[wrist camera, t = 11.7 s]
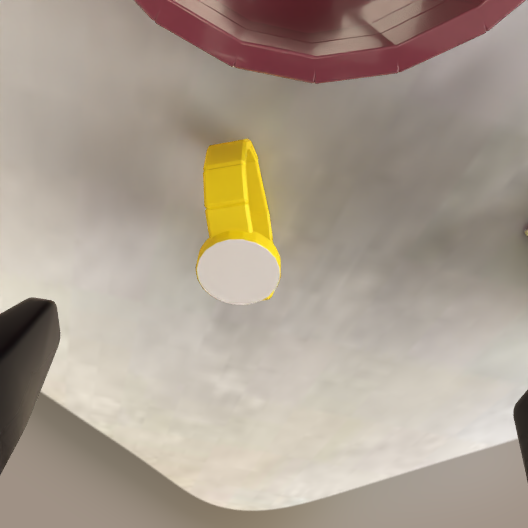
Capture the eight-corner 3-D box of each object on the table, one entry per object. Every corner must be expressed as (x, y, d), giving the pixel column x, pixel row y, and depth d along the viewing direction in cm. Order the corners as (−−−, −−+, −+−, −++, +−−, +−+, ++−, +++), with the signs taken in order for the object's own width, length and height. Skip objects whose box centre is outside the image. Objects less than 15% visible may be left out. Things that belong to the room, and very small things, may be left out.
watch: (198, 126, 17) (166, 193, 13) (267, 114, 17) (261, 178, 12) (232, 251, 21) (217, 341, 16) (290, 242, 20) (293, 333, 16)
